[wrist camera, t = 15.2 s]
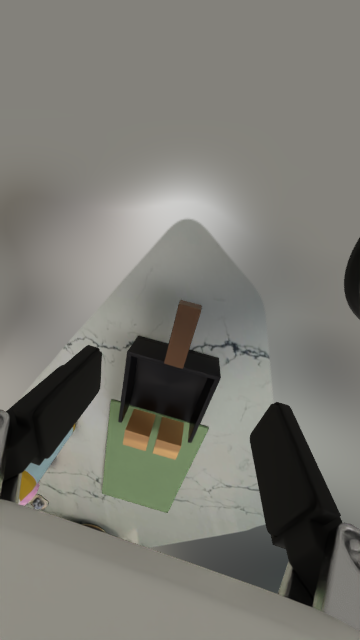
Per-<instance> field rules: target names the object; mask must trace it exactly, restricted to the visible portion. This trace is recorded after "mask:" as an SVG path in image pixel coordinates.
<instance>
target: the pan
mask: <svg viewBox="0 0 360 640" xmlns="http://www.w3.org/2000/svg"><path fill="white" fill-rule="evenodd" d="M201 307H202V306H201V305H198V304H194V303H191V302H187V301H183V300H180V302H179V305H178V309H177V313H176V317H175V321H174V325H173V329H172V333H171V337H170V341H169V344H166V343H162V342H159V341H155V340H152V339H148V338H144V337H141V336H138V337H137V338H136V340H135V341H134V343H133V344H132V346H131V347H130V348H129V350H128V351H127V358H126V366H125V373H124V381H123V389H122V396H121V404H120V411H119V419H118V422H120V423H122V421H123V419H124V417H125V415H126V412H127V410H128V408H129V406H130V405H132V406H135V407H139V408H142V409H145V410H149V411H152V412H156V413H159V414H163V415H166V416H170V417H173V418H177V419H180V420H184V421H187V422H190V423H189V435H188V443H192V441H193V438H194V436H195V434H196V432H197V430H198V427H199V425H200V423H201V421H202V418H203V416H204V414H205V412H206V409H207V407H208V405H209V403H210V400H211V398H212V396H213V394H214V391H215V389H216V387H217V385H218V383H219V380H220V378H221V376H220V366H219V358H216V357H213V356H209V355H205V354H202V353H198V352H195V351H191V350H189V348H190V344H191V341H192V338H193V335H194V332H195V329H196V325H197V322H198V319H199V316H200V313H201Z"/></svg>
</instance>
